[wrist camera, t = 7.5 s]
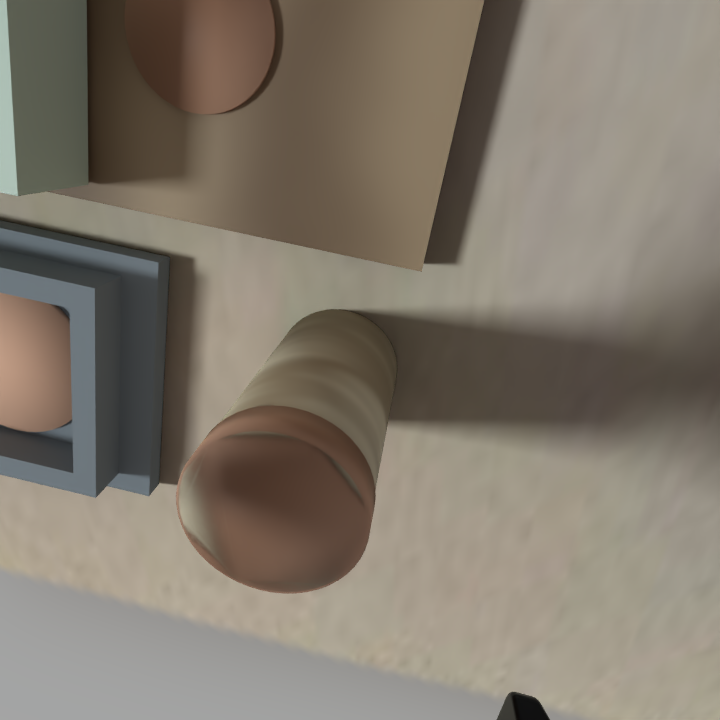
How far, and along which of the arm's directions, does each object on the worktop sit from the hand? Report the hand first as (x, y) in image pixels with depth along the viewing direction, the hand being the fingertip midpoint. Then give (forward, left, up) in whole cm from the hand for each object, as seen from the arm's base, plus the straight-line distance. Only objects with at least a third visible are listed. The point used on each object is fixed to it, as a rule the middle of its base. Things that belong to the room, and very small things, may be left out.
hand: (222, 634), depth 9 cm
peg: (0, 0, -11) cm, 11 cm away
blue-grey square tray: (+11, +2, -11) cm, 16 cm away
